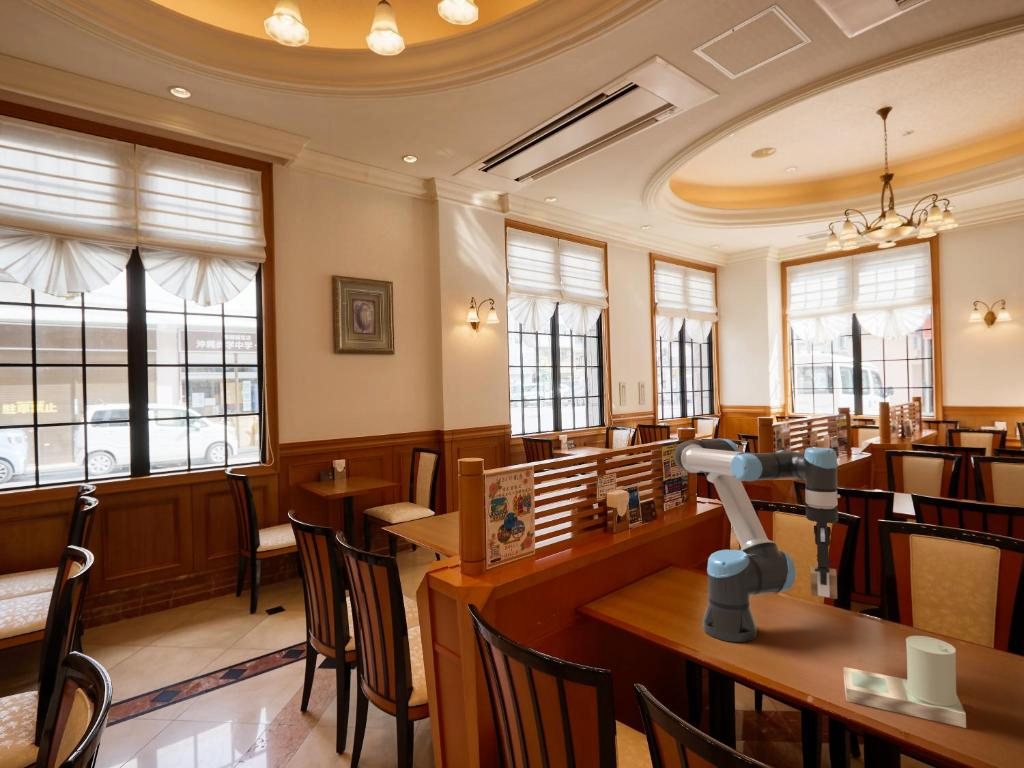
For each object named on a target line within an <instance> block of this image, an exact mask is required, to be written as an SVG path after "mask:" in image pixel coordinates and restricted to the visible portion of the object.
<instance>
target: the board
mask: <svg viewBox="0 0 1024 768" xmlns="http://www.w3.org/2000/svg"><path fill="white" fill-rule="evenodd" d="M843 682H844V683H843V684H844V692H845V700H846V702H848V703H853V704H859V705H861V706H868V707H872V708H874V709H875V708H876V709H879V710H884V711H888V712H894V713H899V714H902V715H906V716H911V717H916V718H920V719H921V718H922V719H925V720H929V721H933V722H938V723H942V724H945V725H946V724H947V725H951V726H955V727H960V728H963V729H964V728H965V729H967V716H966V715H967V714H966V711H965V710H964V707H963V704H962V703H961V701H960V699H959V696H958V695H957V694H958V693H956V695H957V700H958V702H957V704H956V705H954V706H937V705H933V704H929V703H926V702H924V701H921V700H919V699H917V698H915V697H914V696H912V695H911V694H910V693H909V692H908V691H907V679H906V678H903V677H902V678H901V677H897V676H891V675H886V674H882V673H876V672H871V671H867V670H861V669H856V668H852V667H847V666H843Z"/></svg>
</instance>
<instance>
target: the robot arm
mask: <svg viewBox="0 0 1024 768" xmlns="http://www.w3.org/2000/svg"><path fill="white" fill-rule="evenodd" d="M737 445H738V444H736V443H735V442H734V441H732V440H731V439H728V438H719V437H718V438H714V439H712V438H711V439H690V440H685V441H683V442H681V443H680V444H678V445H677V447H676V448H675V450H674V452H673V460H674V463H675V466H676V467H677V468H678V469H680V470H681V471H682V472H686V473H690V474H693V473H694V474H697V473H698V474H700V473H702V474H703V473H704V475H705V477H706V480H707V481H708V482H709V483H712V484H713V485H714V487H715V490H716V493H717V494H718V497H719V499H720V501H721V504H722V506H723V508H724V510H725V513H726V515H727V518H728V520H729V522H730V524H731V527H732V529H733V532H734V533H735V537H736V538H737V541H738V544H739V546H740V549H739V550H738V549H721V550H717V551H715V552H713V553H711V554H710V556H709V557H708V558H707V568H706V572H707V589H708V590H707V591H708V592H707V595H708V597H707V598H708V601H707V605H706V609H705V612H704V615H703V619H702V629H703V631H704V632H705V633H706V632H707V633H708V636H710V637H713V638H715V639H718V640H722V641H726V642H732V643H744V642H749V641H753V640H754V639H755V638H757V625H756V622H755V620H754V616H753V613H752V611H751V608H750V596H755V595H765V594H766V595H767V594H779V593H781V592H786V591H788V590H790V589H791V588H792V587H793V586H794V584H795V581H796V576H797V575H796V574H797V572H796V571H797V569H796V565H795V562H794V559H793V558H792V557H791V555H790V554H788V553H787V552H786V551H784V550H779V547H778V546H777V544H776V542H775V541H773V540H770V539H768V537H767V534H766V532H765V530H764V527H763V525H762V523H761V521H760V519H759V517H758V515H757V512H756V510H755V509H754V506H753V504H752V502H751V499H750V497H749V496H748V493H747V491H746V489H745V487H744V484H743V483H742V482H754V481H764V480H785V479H796V480H802V481H805V489H804V490H805V493H804V494H805V496H804V497H805V503H806V504H807V505H806V506H805V518H806V519H807V520H808V521H810V522H815V525H813V534H814V540H815V541H814V544H815V545H816V551H817V552H816V553H817V554H816V567H818V568H817V569H815V571H817V580H818V596H817V597H820V596H823V597H822V598H826V597H830V589H829V568H830V566H829V565H830V564H832V563H831V562H832V560H831V559H830V557H829V556H830V555H829V546H830V545H831V536H832V532H831V531H832V529H831V526H828V524H834V523H837V522H839V508H838V507H837V506H838V499H840V498H841V495H840V494H838V467H839V466H838V465H839V464H838V460H837V459H838V458H837V452H836V450H835V449H833V448H830V447H813V446H812V447H807V448H805V450H804V452H798V451H793V450H790V449H789V450H788V449H787V450H784V449H780V450H777V451H776V452H761V453H760V452H756V453H755V452H742V451H741V450H740V449H739V447H738V446H737ZM707 633H706V634H707Z"/></svg>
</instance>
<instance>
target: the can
mask: <svg viewBox="0 0 1024 768" xmlns="http://www.w3.org/2000/svg"><path fill="white" fill-rule="evenodd" d="M905 643H906V644H905V646H906V669H907V670H906V671H907V672H906V674H907V675H906V677H907V691H908V692H909V693H910V694H911V695H912V696H914V697H915V698H917V699H919V700H921V701H924V702H926V703H929V704H933V705H937V706H954V705H956V704H957V702H958V700H957V696H958V695H956V694H957V671H956V669H957V664H956V663H957V661H956V660H957V659H956V658H957V656H956V654H957V649H956V648H955V647H954V645H952V644H950V643H948V642H946V641H944V640H941V639H939V638H935V637H932V636H931V637H930V636H925V635H910V636H907V637H906V639H905Z"/></svg>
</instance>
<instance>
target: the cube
mask: <svg viewBox="0 0 1024 768" xmlns="http://www.w3.org/2000/svg"><path fill="white" fill-rule="evenodd" d="M817 568H818V567H817V566H814V565H813V566H812V565H810V593H811V594H810V595H811V596H812V597H814V596H815V597H820V598H821V597H822V598H824V597H823V596H818V580H817V571H815V569H817ZM837 575H838V574H837V569H836V568H830V567H829V589H830V597H825V598H828V599H833V600H837V599H838V577H837Z"/></svg>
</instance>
